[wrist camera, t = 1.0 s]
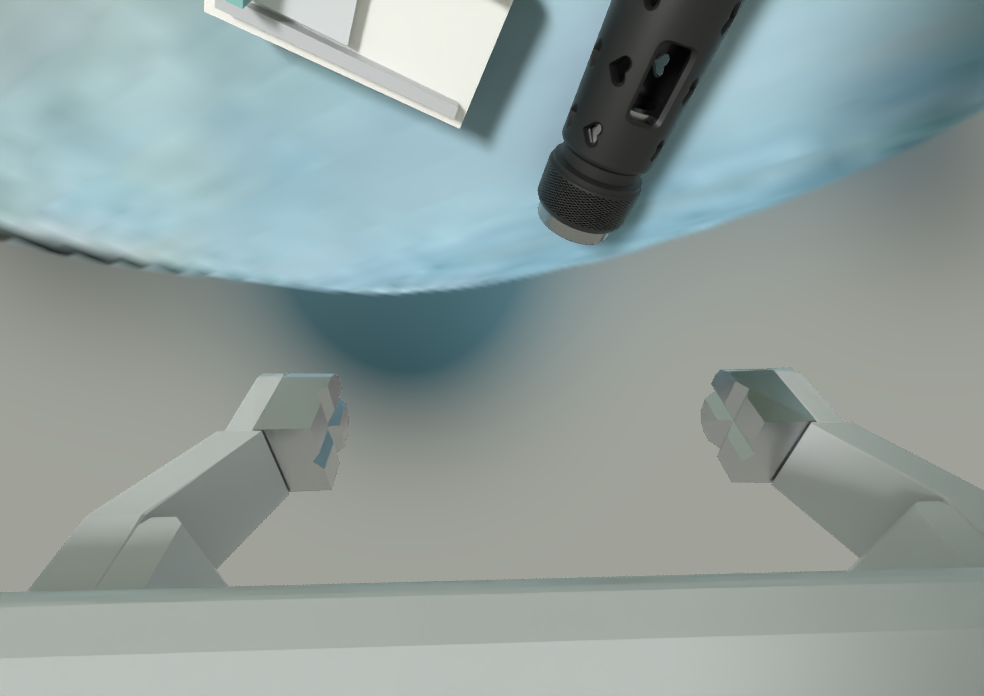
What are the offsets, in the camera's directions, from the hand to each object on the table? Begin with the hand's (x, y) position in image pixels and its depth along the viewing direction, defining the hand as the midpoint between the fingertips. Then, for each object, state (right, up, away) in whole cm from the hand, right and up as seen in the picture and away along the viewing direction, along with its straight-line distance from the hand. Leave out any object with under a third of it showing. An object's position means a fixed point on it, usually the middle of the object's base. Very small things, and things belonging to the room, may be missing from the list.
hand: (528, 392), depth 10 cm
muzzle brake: (+11, +28, +31) cm, 43 cm away
